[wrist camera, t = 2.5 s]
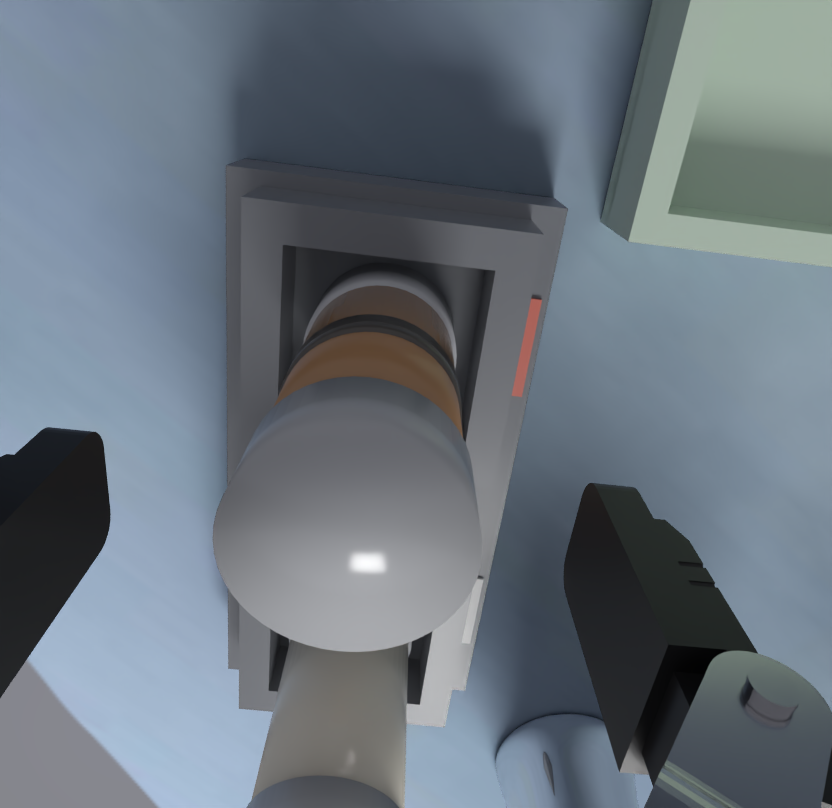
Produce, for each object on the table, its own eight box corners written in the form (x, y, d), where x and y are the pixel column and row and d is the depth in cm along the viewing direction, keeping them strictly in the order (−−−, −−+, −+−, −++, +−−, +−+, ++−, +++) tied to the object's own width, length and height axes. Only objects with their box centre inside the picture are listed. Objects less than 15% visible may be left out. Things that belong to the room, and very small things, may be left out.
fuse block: (554, 197, 19) (585, 222, 15) (462, 650, 27) (468, 737, 23) (244, 158, 19) (202, 173, 15) (241, 629, 26) (213, 713, 23)
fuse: (419, 559, 22) (416, 877, 13) (405, 645, 24) (395, 979, 15) (301, 547, 22) (218, 861, 13) (296, 635, 24) (219, 966, 15)
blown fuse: (463, 271, 18) (504, 450, 9) (443, 402, 20) (460, 663, 11) (317, 254, 18) (210, 418, 9) (310, 386, 19) (214, 639, 10)
